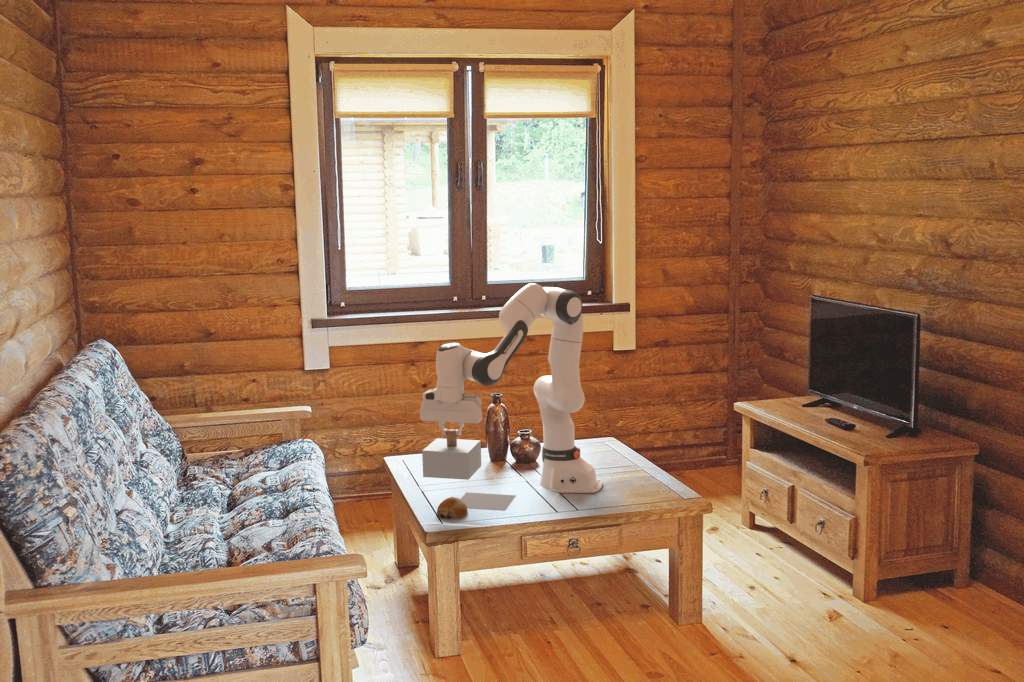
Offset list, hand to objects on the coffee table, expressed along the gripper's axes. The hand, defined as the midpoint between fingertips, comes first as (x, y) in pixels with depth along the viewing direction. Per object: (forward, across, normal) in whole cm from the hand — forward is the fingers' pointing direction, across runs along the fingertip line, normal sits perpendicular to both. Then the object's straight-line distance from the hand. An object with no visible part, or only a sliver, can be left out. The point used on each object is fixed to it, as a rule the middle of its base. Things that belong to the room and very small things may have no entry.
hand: (451, 435), depth 334 cm
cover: (+12, 0, 0) cm, 12 cm away
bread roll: (+28, 0, +1) cm, 28 cm away
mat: (+27, -7, -14) cm, 31 cm away
